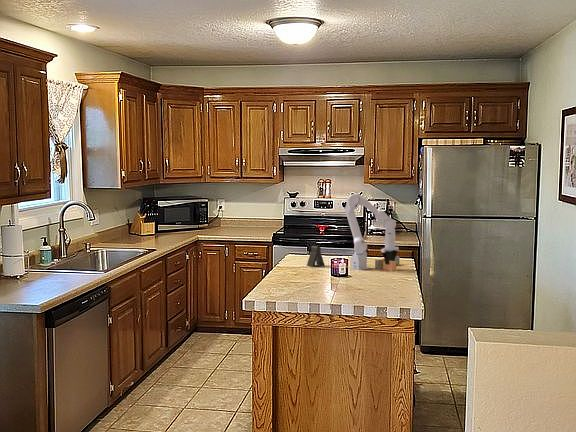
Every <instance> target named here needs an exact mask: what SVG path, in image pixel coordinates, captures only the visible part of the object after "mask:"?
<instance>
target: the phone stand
mask: <svg viewBox="0 0 576 432" xmlns="http://www.w3.org/2000/svg"><path fill="white" fill-rule="evenodd" d="M306 266H307V267H310V268H318V267H325V266H326V265H325V261H324V258H323V256H322V252H321V247H320V246H318V245H311V247H310V253H309V257H308V260H307V263H306Z"/></svg>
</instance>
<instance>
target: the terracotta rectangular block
mask: <svg viewBox="0 0 576 432" xmlns="http://www.w3.org/2000/svg"><path fill="white" fill-rule="evenodd" d="M382 270H384V271H390V272H392V271H396V270H397V265H396V261H390V262H389V264H385V261H383V269H382Z"/></svg>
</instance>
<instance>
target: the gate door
mask: <svg viewBox="0 0 576 432" xmlns="http://www.w3.org/2000/svg"><path fill="white" fill-rule="evenodd" d="M378 260H379V268H382V267H383V261H385V260H384V258H382V259H378Z"/></svg>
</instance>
